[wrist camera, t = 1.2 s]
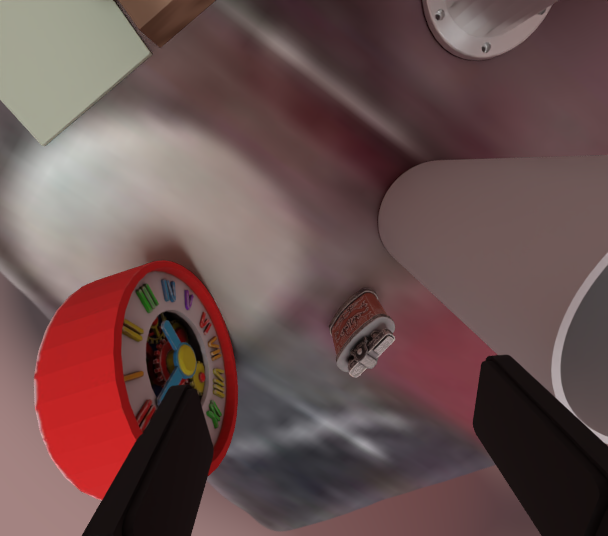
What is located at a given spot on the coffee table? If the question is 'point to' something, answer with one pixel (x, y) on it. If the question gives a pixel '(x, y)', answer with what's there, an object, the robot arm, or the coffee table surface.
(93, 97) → the mat
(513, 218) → the cylinder vase
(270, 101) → the coffee table surface
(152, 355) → the toy clock
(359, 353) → the lighter
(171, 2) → the plate
